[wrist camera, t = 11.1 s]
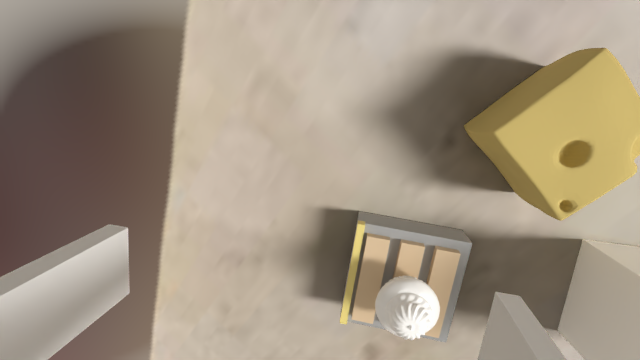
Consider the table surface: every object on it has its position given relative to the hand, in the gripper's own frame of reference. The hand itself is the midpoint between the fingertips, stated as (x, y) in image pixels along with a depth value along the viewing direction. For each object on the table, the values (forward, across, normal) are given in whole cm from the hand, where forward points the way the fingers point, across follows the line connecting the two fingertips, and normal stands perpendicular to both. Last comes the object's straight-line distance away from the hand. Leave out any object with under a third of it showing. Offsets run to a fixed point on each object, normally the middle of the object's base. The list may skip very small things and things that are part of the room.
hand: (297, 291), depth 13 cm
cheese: (+30, +18, +5) cm, 35 cm away
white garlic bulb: (+24, +8, -13) cm, 28 cm away
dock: (+29, +8, -12) cm, 33 cm away
